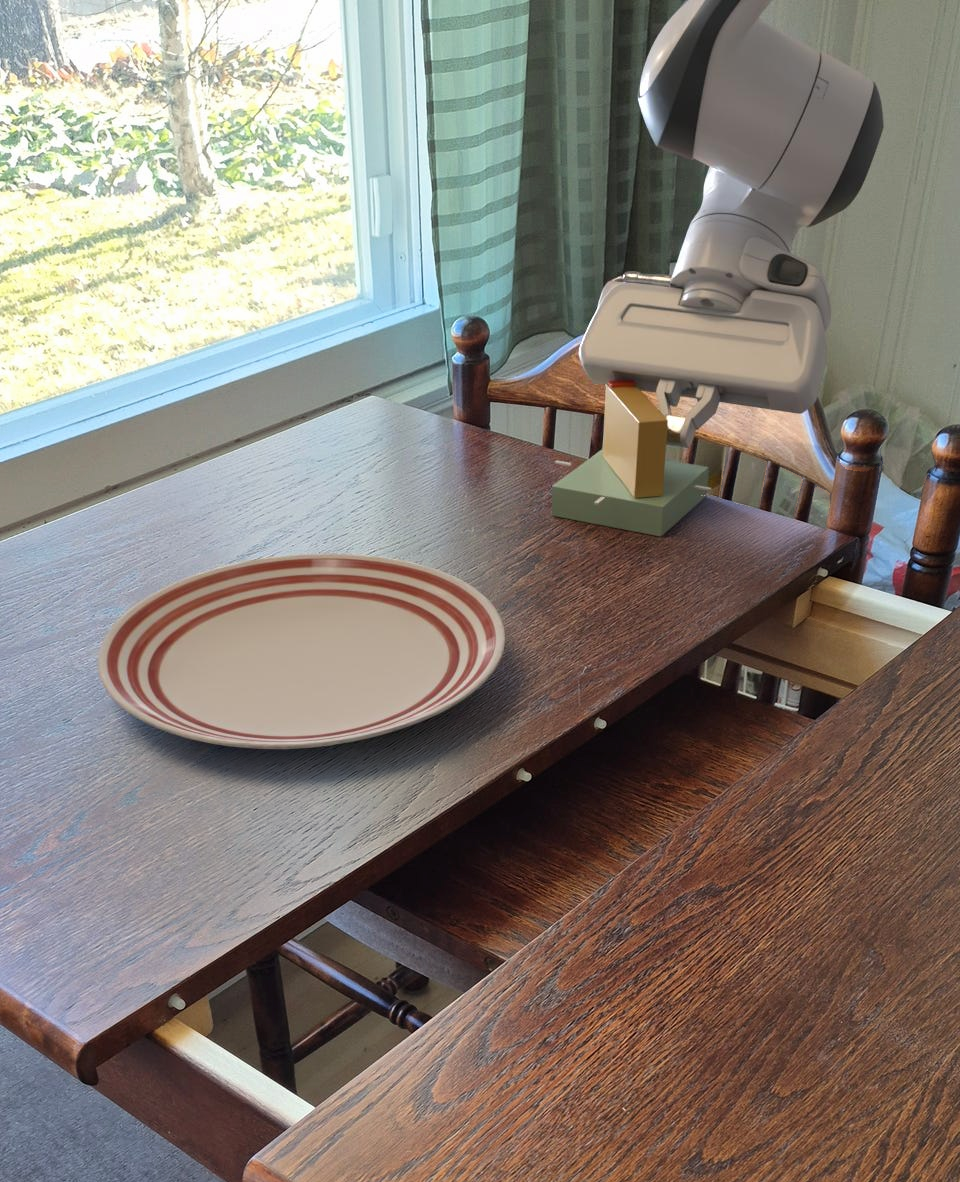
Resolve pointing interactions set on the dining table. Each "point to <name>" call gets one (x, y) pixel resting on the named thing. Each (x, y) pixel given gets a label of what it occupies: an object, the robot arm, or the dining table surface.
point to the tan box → (634, 438)
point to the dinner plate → (301, 650)
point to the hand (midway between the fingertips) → (671, 442)
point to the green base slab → (628, 496)
